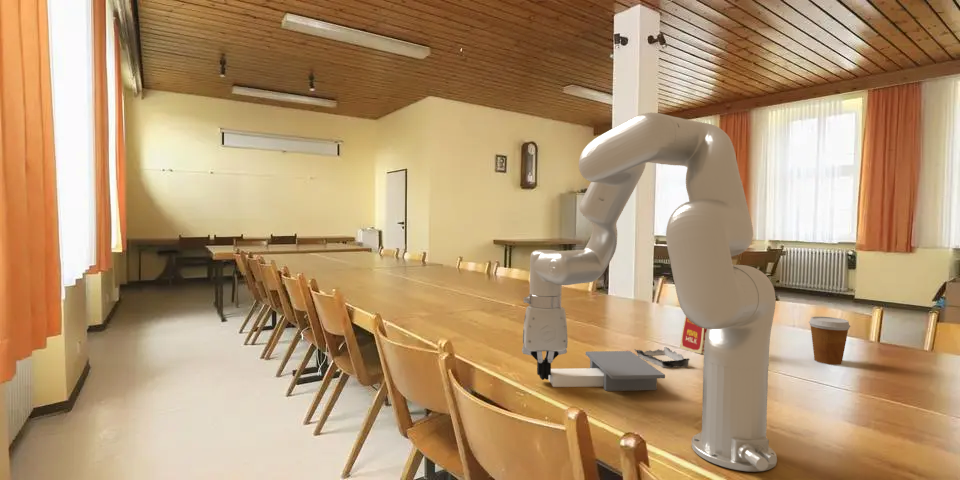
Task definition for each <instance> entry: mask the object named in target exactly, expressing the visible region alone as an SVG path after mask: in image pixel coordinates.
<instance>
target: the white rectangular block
mask: <svg viewBox="0 0 960 480" xmlns="http://www.w3.org/2000/svg"><path fill="white" fill-rule="evenodd" d="M547 381H549V383H550V385H551V386H552V388H569V387H570V388H571V387H572V388H574V387H576V388H577V387H581V388H582V387H583V388H585V387H586V388H587V387H604V371H603V370H602V369H601V368H590V367H588V368H585V367H584V368H583V367H582V368H579V367H578V368H575V367H574V368H551V375H549V379H548V380H547Z"/></svg>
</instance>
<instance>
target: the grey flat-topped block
mask: <svg viewBox="0 0 960 480" xmlns="http://www.w3.org/2000/svg"><path fill="white" fill-rule="evenodd" d="M585 355H586V357H588V358H589V360H590V361H589V368H601V369H602V370H603V371H604V386H603V390H604V391H606V392H613V391H614V392H615V391H617V392H618V391H619V392H621V391H625V392H626V391H657V389H658V387H657V385H658V384H657V383H658V382H657V381H658V379H665V378H666V374H664V373H663V372H661V370H659V369H658V368H656V367H654V366H653V365H652V364H650V363H648V361H647V360H645V359H643V358H641V357H638V355H636V354H635V353H634V352H632V351H631V350H615V351H614V350H611V351H610V350H609V351H606V350H602V351H599V350H598V351H585Z"/></svg>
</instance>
